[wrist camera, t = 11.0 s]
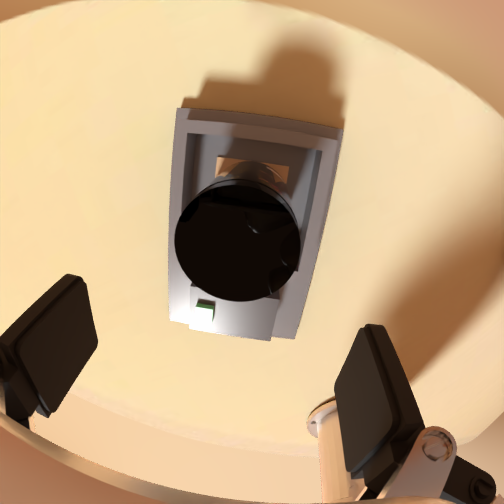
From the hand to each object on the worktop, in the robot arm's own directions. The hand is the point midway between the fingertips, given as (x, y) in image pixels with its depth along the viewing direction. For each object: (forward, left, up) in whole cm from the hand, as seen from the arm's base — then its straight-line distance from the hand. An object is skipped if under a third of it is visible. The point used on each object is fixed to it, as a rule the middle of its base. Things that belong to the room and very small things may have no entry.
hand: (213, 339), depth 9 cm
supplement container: (0, 0, -17) cm, 17 cm away
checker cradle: (0, +4, -19) cm, 19 cm away
